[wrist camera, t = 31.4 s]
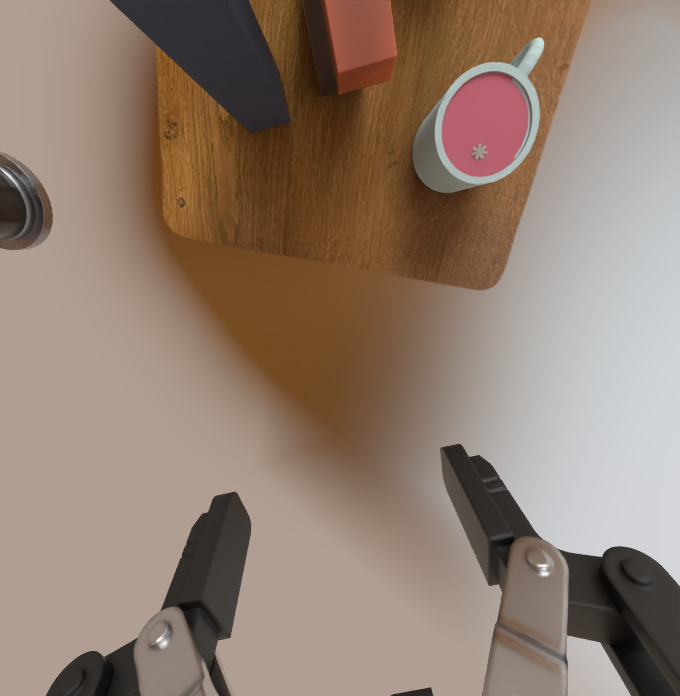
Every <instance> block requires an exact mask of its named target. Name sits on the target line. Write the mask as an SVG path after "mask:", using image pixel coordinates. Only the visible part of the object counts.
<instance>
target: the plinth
mask: <svg viewBox="0 0 680 696" xmlns="http://www.w3.org/2000/svg"><path fill="white" fill-rule="evenodd" d="M301 2H302V7H303V11H304V16H305V21H306V26H307V31H308V36H309V41H310V45H311V50H312V55H313V60H314V65H315V70H316V74H317V79H318V84H319V89H320V94H321V97H322V96H326V95H329V94H333V93H336V92H338V90H337V85H336V79H335V74H334V69H333V63H332V58H331V53H330V47H329V42H328V37H327V31H326V26H325V21H324V16H323V10H322V5H321V0H301Z"/></svg>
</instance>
